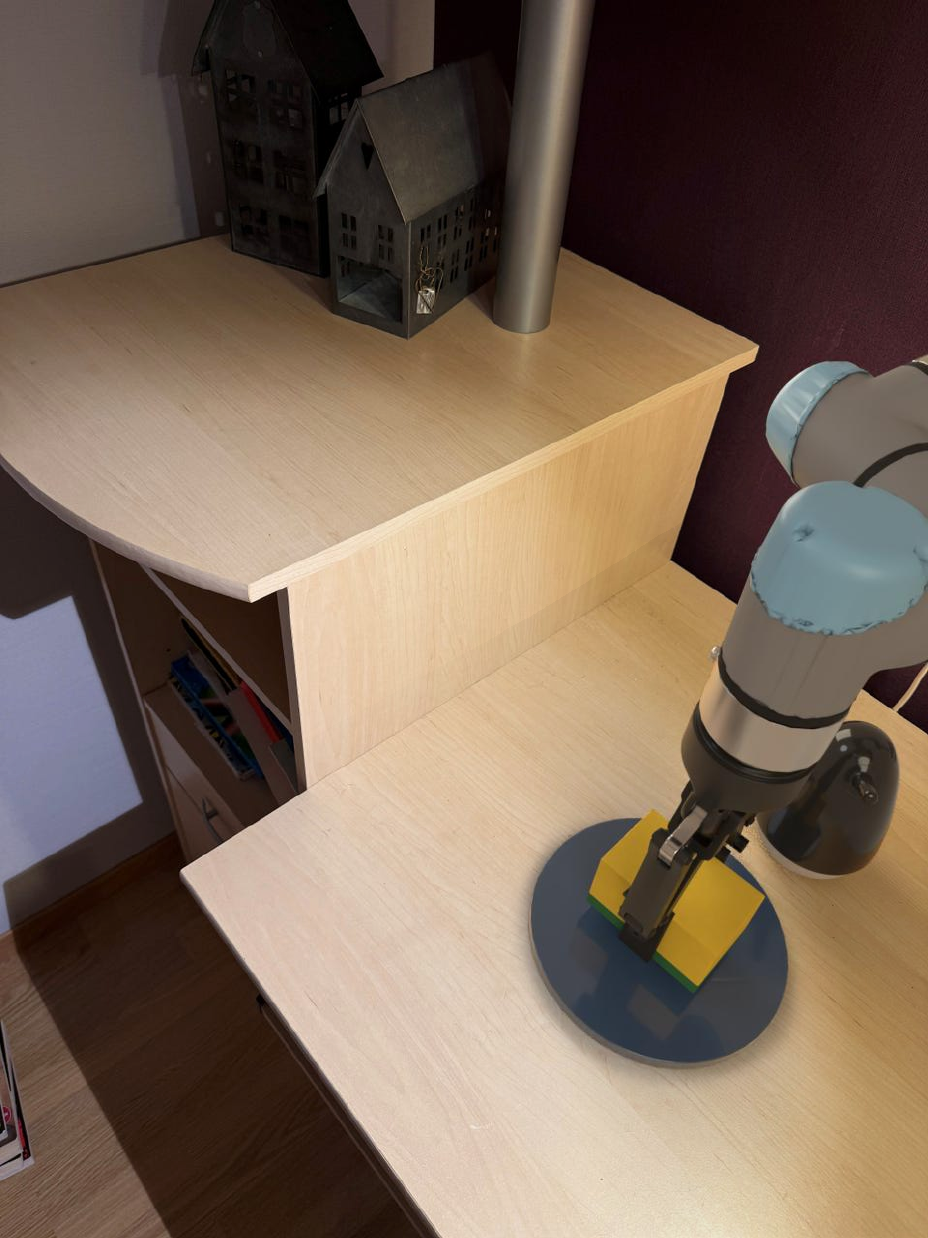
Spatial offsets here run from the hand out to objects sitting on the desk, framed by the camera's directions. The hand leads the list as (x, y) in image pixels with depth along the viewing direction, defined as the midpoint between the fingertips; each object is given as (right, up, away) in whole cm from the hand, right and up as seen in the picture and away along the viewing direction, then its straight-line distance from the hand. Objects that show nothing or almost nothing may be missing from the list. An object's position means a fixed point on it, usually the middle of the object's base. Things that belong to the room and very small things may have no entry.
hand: (663, 916), depth 69 cm
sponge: (0, 0, 0) cm, 0 cm away
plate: (0, -2, +2) cm, 3 cm away
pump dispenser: (+14, +3, +9) cm, 17 cm away
